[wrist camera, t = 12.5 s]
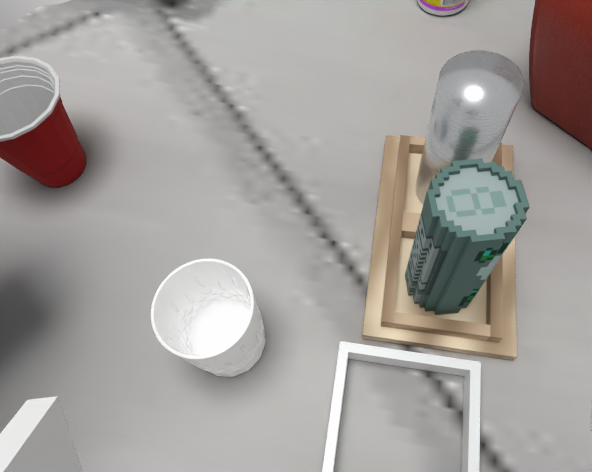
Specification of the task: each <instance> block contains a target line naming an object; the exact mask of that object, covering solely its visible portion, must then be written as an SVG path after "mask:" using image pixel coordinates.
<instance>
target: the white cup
mask: <svg viewBox="0 0 592 472" xmlns="http://www.w3.org/2000/svg"><path fill="white" fill-rule="evenodd" d="M151 323H152V327H153V330H154V333H155V335H156V337H157V339H158V340H159V342H160V343H161V344H162V345H163V346H164V347H165V348H166V349H167V350H169V351H170V352H172V353H173V354H175V355H177V356H179V357H180V358H182V359H184V360H186V361H187V362H189V363H191V364H193V365H194V366H196V367H198V368H200V369H202V370H205V371H208V372H211V373H213V374H214V375H216V376H226V377H234V376H236V375H239V374H241V373H244V372H246V371H249V370H250V369H251V368H252V366H253V365H254V364H255V363H256V362H257V361H258V360H259V359H260V358H261V355H262V352H263V349H264V346H265V343H266V339H265V330H264V325H263V321H262V317H261V314H260V310H259V307H258V304H257V302H256V299H255V296H254V294H253V291H252V288H251V286H250V283H249V281H248V280H247V278H246V277H245V275H244V274H243V273H242V272H241V271H240V270H239V269H238V268H236V267H235V266H233V265H232V264H230V263H228V262H225V261H222V260H218V259H199V260H194V261H191V262H188V263H186V264H184V265H182V266H180V267H178V268H177V269H175V270H174V271H173V272H171V273H170V274H169V275H168V276H167V277H166V278H165V279H164V281H163V282H162V283H161V285H160V286H159V288H158V289H157V291H156V293H155V296H154V299H153V302H152V307H151Z"/></svg>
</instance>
